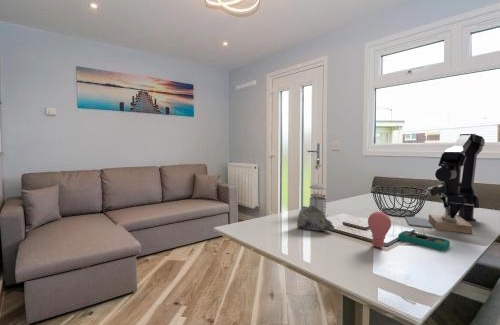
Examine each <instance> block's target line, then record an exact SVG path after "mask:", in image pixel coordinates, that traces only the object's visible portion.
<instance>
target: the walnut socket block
mask: <svg viewBox="0 0 500 325" xmlns="http://www.w3.org/2000/svg"><path fill="white" fill-rule="evenodd" d="M442 216H443V214H437V213H428V222H429V223H430V224H431V225H432V227H433V228H435V229H436V230H441V231H448V232H456V233H467V234H473V225H472V224H471V223H470V222H468V220H465V219H463V218H462V217H460V216H456V221H449V220H443V219H442Z"/></svg>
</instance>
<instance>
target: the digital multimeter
mask: <svg viewBox="0 0 500 325" xmlns="http://www.w3.org/2000/svg"><path fill="white" fill-rule="evenodd" d="M397 238H399V240H398V241H401V242H405V243H409V244H413V245H418V246H421V247H425V248H428V249H433V250H436V251H440V252H444V251H445V252H446V250H448V249H449V248H450V243H451V242H450V241H451V240H448V239H446V238H445V239H444V238H440V237H436V236H431V235H426V234H422V233H418V232H414V231H413V232H412V231H409V230H404V231H401V232H399V234H398V236H397Z"/></svg>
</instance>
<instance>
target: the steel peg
mask: <svg viewBox="0 0 500 325" xmlns="http://www.w3.org/2000/svg"><path fill="white" fill-rule="evenodd" d="M442 215H443V216H442V219H443V220H449V221H456V216H455V217H454V218H450V211H449V207H444V206H442Z"/></svg>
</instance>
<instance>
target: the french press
mask: <svg viewBox="0 0 500 325" xmlns="http://www.w3.org/2000/svg"><path fill="white" fill-rule="evenodd" d="M316 167H318V168H320V167H322V164H320V163H318V164H316ZM317 180H318V183H315V184H312V185H310V186H309V189H313V190H314V191H313V193H312V194H310V196H311V197H309V206H310V205H313V206H315V207H316V208H318V209H319V210H321V211H322V212H323V213H324V215H325V217H326V218H327V217H328V214H327V209H326V208H327V198H326V195H325V194H322V193H321V194H319V193H320V192H319V191H317V193H316V191H315V190H326V189H327V186H325V185H323V184H321V183H320V175H318V177H317Z"/></svg>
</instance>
